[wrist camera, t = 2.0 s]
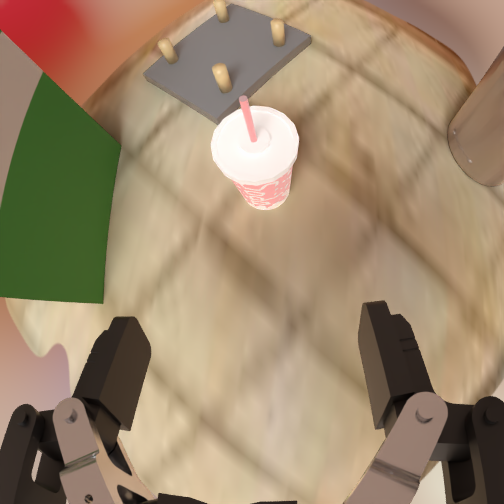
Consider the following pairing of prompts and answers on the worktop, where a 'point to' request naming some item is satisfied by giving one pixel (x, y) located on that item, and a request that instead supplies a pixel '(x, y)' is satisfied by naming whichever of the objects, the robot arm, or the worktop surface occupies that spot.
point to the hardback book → (51, 187)
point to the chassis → (225, 59)
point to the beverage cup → (257, 153)
